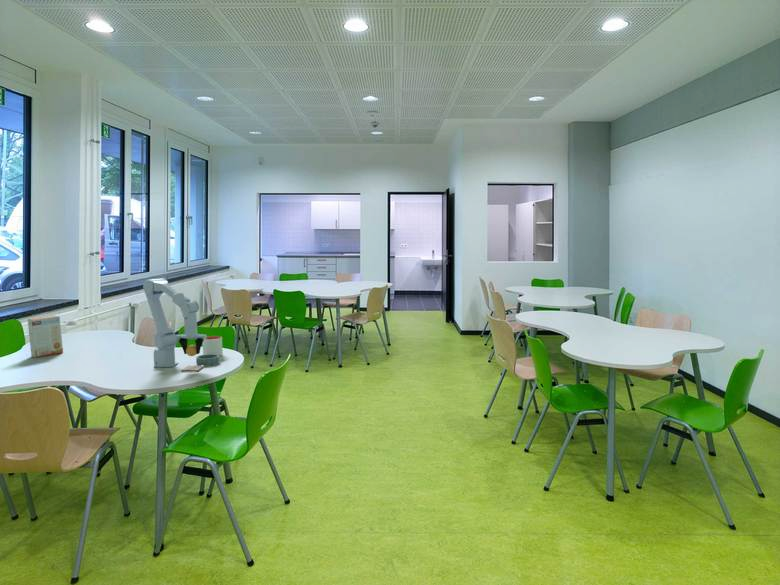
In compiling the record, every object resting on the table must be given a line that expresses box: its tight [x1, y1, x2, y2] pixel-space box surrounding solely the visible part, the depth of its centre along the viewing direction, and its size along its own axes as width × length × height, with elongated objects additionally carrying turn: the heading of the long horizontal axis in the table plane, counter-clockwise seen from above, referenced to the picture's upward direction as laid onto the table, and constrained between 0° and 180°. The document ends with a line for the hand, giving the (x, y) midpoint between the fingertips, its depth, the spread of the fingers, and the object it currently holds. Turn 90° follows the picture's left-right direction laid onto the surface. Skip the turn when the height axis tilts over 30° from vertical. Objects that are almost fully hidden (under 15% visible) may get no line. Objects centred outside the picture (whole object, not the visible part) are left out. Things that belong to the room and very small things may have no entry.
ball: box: [186, 344, 198, 357], centre depth 259 cm, size 6×6×6 cm
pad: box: [181, 365, 205, 372], centre depth 260 cm, size 8×8×1 cm
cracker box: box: [27, 315, 64, 359], centre depth 291 cm, size 14×6×21 cm, turn 146°
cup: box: [202, 335, 223, 357], centre depth 287 cm, size 10×10×10 cm
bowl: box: [195, 354, 220, 366], centre depth 271 cm, size 11×11×4 cm
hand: (192, 353), depth 259 cm, fingers closed on ball, 5 cm apart
